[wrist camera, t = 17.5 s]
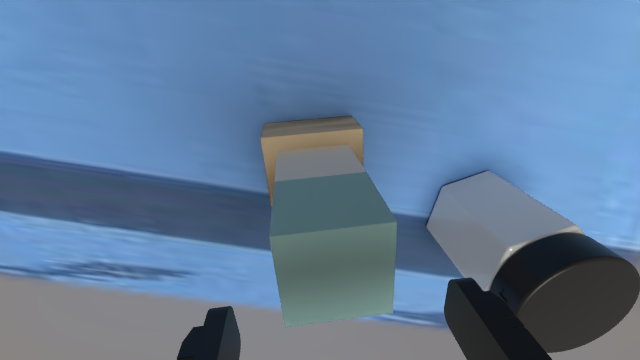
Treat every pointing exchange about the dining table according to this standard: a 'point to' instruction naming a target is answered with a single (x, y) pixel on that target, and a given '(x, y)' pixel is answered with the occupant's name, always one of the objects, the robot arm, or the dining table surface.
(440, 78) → the dining table surface
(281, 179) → the cream cube
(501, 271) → the jar
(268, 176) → the base block
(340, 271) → the teal cube
